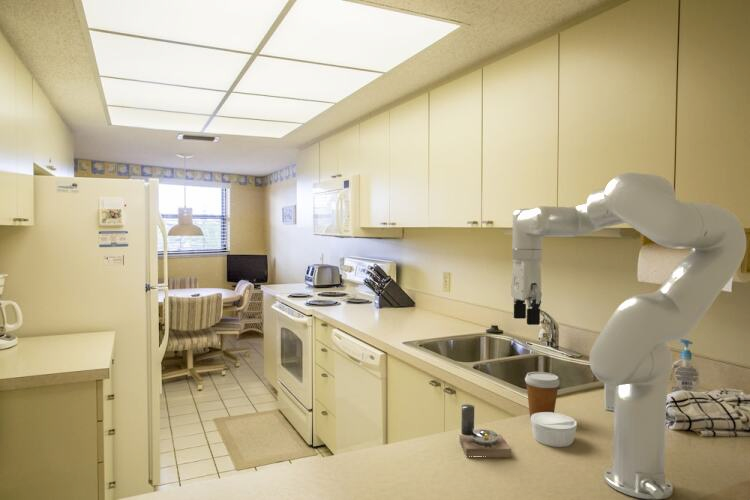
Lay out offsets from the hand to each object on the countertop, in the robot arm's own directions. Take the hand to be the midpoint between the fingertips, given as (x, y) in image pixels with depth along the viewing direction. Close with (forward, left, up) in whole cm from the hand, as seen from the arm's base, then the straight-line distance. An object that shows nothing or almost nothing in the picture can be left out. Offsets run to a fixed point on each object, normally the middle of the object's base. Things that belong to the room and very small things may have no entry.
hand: (526, 321), depth 131 cm
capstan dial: (-12, +15, -27) cm, 33 cm away
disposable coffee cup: (+10, -8, -30) cm, 32 cm away
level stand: (-11, +13, -29) cm, 34 cm away
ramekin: (-5, -6, -30) cm, 31 cm away
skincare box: (+19, -34, -30) cm, 49 cm away
